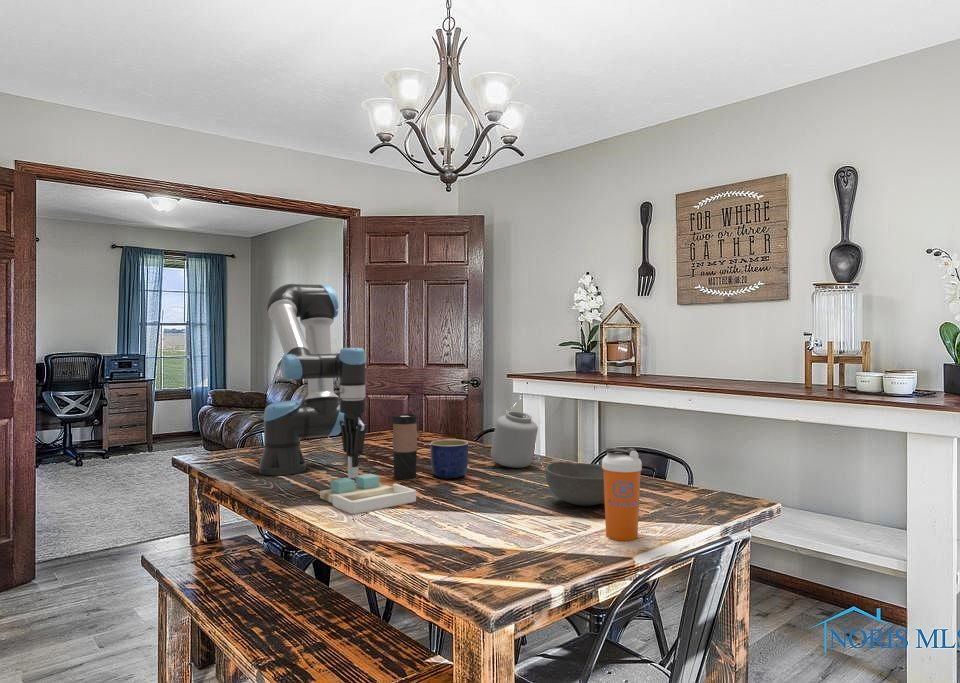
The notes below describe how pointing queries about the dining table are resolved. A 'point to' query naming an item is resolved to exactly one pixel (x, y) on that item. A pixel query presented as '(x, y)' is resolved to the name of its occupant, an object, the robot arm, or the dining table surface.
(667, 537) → the dining table surface
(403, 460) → the travel mug
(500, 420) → the jar
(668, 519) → the dining table surface
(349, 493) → the board
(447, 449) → the planter
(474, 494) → the dining table surface
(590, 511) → the dining table surface
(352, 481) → the tile
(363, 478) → the tile
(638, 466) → the shaker bottle
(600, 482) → the bowl
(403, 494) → the tray
